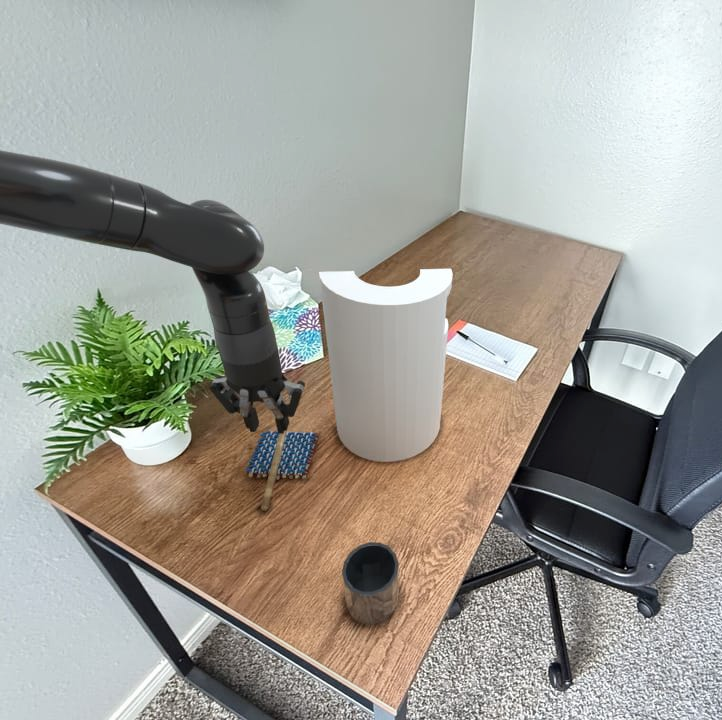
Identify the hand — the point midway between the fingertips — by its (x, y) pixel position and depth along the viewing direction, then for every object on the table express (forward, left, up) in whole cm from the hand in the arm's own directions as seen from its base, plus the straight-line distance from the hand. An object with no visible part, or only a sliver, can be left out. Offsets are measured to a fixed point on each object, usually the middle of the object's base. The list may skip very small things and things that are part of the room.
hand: (268, 428), depth 76 cm
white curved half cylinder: (+9, -19, -12) cm, 24 cm away
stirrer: (-1, 0, -8) cm, 8 cm away
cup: (-22, -20, -11) cm, 32 cm away
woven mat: (+3, 0, -12) cm, 12 cm away
